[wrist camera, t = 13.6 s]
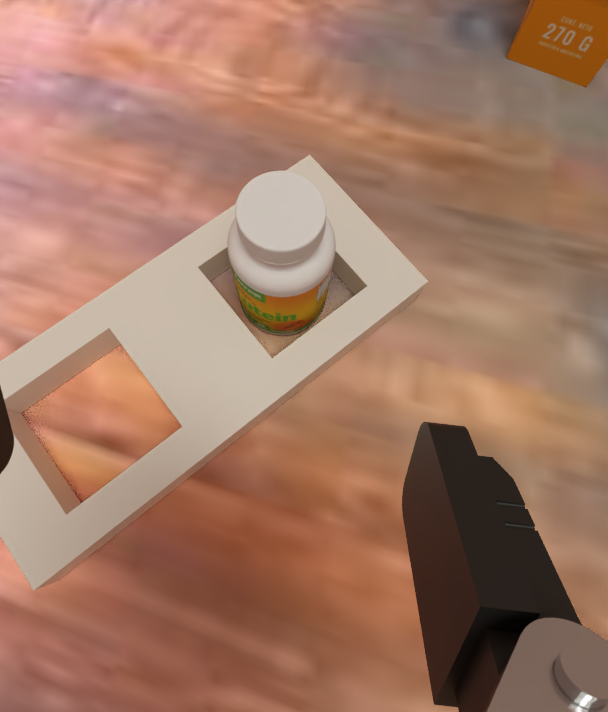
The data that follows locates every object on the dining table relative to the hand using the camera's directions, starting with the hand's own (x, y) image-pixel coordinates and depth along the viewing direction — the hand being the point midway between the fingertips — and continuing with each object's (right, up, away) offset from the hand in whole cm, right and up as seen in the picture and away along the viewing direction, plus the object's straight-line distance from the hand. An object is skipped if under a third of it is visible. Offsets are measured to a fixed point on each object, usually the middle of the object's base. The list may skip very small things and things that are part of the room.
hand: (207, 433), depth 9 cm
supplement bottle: (0, +5, +21) cm, 21 cm away
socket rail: (-5, +2, +19) cm, 20 cm away
